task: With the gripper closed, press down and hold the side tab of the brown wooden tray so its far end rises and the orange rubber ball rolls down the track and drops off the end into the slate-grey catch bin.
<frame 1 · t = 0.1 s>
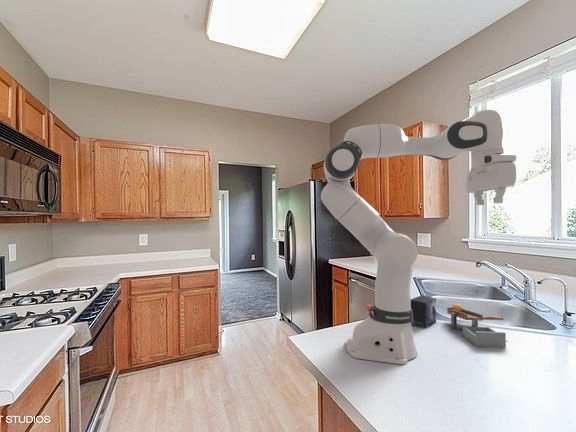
hand: (488, 204, 90), 48 cm above the counter, fingers open, 8 cm apart
small box: (423, 324, 116), on the counter
brown wooden tray: (474, 313, 110), point 6 cm above the counter, hinge at -9.0°, touching ball
stand: (464, 328, 110), on the counter
bin: (483, 341, 98), on the counter
ball: (457, 308, 116), point 6 cm above the counter, tilted 17°, touching brown wooden tray
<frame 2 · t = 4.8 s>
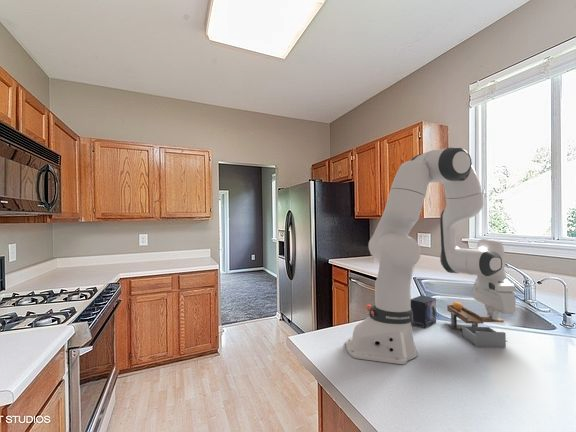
hand: (492, 318, 106), 5 cm above the counter, fingers closed, pressing on brown wooden tray
brown wooden tray: (474, 313, 110), point 6 cm above the counter, hinge at 0.0°, touching ball, gripper
ball: (457, 306, 116), point 7 cm above the counter, tilted 7°, touching brown wooden tray
everything else where it was.
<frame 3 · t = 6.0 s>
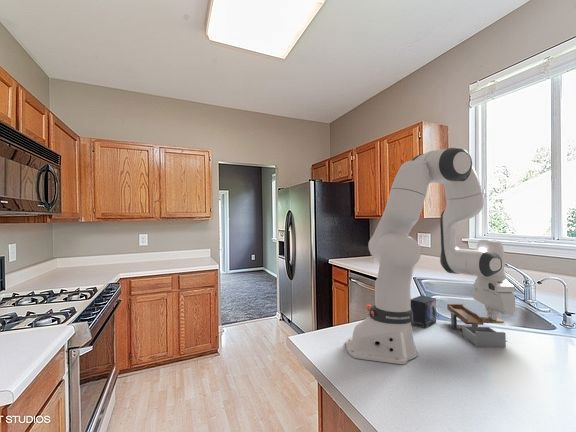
hand: (492, 318, 106), 5 cm above the counter, fingers closed, pressing on brown wooden tray
brown wooden tray: (474, 313, 110), point 6 cm above the counter, hinge at 3.5°, touching gripper
ball: (486, 337, 96), point 2 cm above the counter, tilted 11°, touching bin
everything else where it was.
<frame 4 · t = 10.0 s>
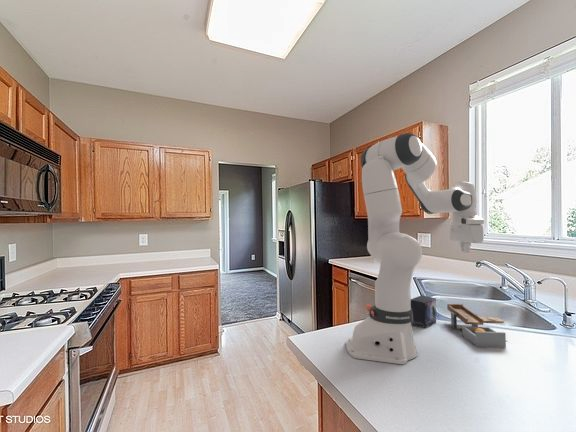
hand: (465, 252, 118), 29 cm above the counter, fingers closed
brown wooden tray: (474, 313, 110), point 6 cm above the counter, hinge at 3.4°
ball: (480, 333, 99), point 2 cm above the counter, tilted 121°, touching bin
everything else where it was.
at the end: ball inside the target area on the bin (1.5 cm from its centre), point 2.2 cm above the bin's base; ball touching bin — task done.
